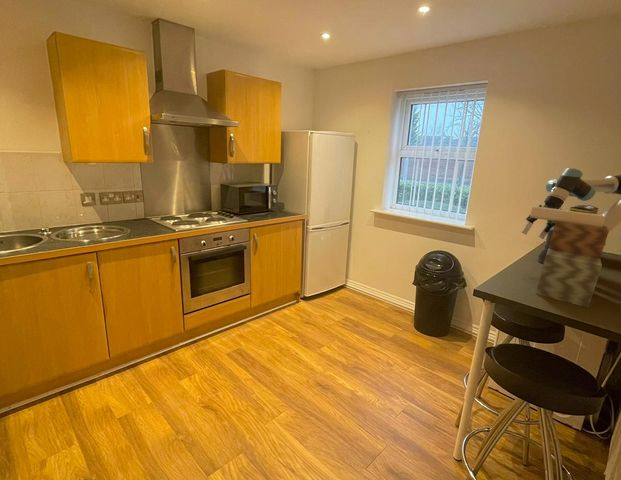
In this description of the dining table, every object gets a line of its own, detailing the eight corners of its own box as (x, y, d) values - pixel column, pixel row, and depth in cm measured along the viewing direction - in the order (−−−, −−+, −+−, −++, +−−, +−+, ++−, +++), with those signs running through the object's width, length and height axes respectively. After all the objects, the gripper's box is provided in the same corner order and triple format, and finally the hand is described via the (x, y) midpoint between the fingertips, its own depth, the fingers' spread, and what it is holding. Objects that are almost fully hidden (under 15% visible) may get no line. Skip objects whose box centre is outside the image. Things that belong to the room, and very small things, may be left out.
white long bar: (529, 217, 155) (532, 206, 154) (530, 216, 158) (533, 206, 157) (601, 228, 140) (605, 216, 139) (601, 226, 143) (604, 215, 142)
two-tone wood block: (535, 293, 144) (553, 226, 136) (540, 278, 164) (556, 219, 156) (588, 307, 133) (611, 235, 126) (586, 289, 153) (606, 226, 146)
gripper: (533, 193, 177) (511, 228, 181) (568, 195, 153) (541, 236, 156) (545, 200, 178) (523, 234, 181) (582, 203, 153) (555, 243, 157)
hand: (531, 235), depth 169 cm, fingers open, 13 cm apart
